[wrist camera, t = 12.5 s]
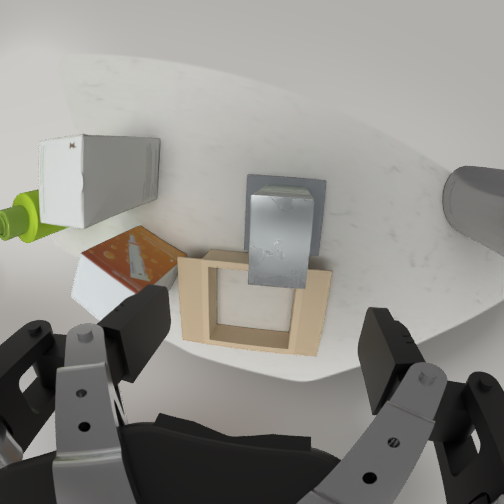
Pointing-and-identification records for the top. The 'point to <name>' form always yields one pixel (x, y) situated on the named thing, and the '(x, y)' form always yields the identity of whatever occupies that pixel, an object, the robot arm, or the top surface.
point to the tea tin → (280, 236)
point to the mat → (312, 185)
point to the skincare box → (95, 177)
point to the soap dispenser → (25, 219)
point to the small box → (123, 270)
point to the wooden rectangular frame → (209, 332)
